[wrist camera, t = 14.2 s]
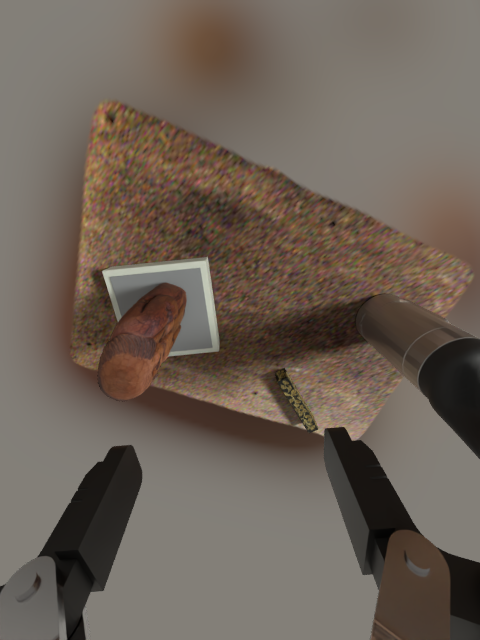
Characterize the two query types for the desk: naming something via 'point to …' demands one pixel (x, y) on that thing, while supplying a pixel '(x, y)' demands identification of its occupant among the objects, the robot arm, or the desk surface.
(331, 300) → the desk surface
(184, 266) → the plinth
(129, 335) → the wooden figurine
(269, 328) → the desk surface
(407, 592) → the robot arm
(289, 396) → the decorative block
